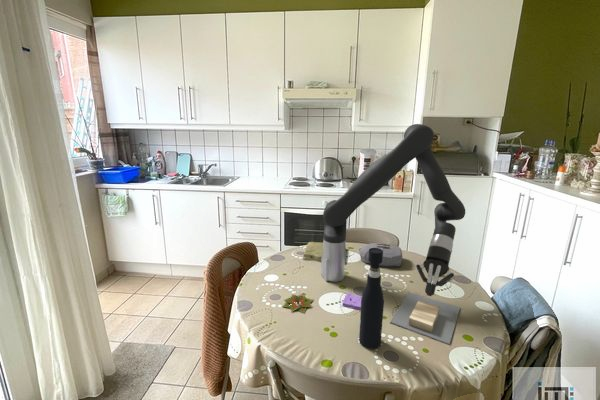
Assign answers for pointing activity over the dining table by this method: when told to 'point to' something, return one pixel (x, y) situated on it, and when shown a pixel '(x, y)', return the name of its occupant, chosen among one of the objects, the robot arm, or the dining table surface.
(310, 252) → the decorative tile
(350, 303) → the sponges
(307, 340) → the dining table surface
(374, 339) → the black water bottle
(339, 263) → the robot arm
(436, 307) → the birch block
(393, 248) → the small grey backpack
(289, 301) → the green leafy rosette
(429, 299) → the rubber mat
